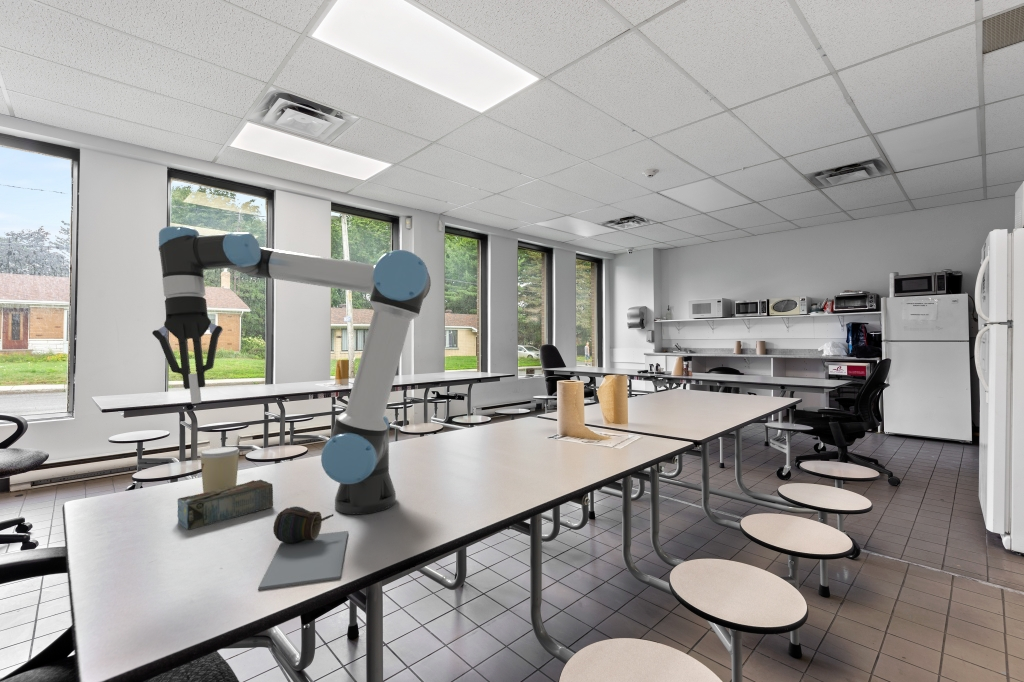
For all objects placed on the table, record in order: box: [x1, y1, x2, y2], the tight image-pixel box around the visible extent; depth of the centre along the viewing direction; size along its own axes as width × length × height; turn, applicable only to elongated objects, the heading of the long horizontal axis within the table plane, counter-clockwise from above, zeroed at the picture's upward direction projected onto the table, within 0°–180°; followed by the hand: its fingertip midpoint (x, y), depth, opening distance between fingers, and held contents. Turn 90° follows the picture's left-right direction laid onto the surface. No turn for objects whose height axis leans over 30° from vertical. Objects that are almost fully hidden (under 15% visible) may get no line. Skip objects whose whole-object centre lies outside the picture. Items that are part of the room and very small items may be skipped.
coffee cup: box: [199, 446, 240, 493], centre depth 128 cm, size 9×9×12 cm
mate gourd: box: [272, 506, 334, 544], centre depth 95 cm, size 7×8×10 cm
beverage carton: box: [177, 479, 274, 531], centre depth 112 cm, size 8×19×7 cm, turn 141°
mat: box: [257, 530, 349, 591], centre depth 88 cm, size 13×20×1 cm, turn 16°
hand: (196, 402), depth 100 cm, fingers closed
